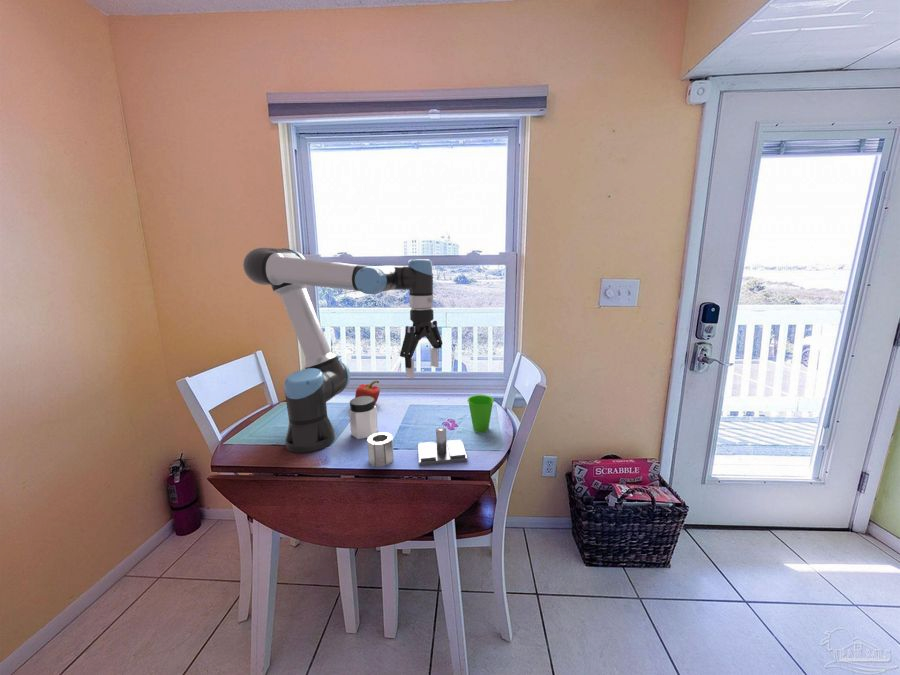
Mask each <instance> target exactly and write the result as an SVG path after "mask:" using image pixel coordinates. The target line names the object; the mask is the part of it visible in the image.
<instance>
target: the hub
mask: <svg viewBox="0 0 900 675" xmlns="http://www.w3.org/2000/svg"><path fill="white" fill-rule="evenodd" d="M393 440H394V438H393V434H391V433H389V432H376V433H375V434H373V435H371V436H369V437H368V438H367V440H366V441H367V450H368V451H367V453H368V463H369V465H370V466H373V467H375V468H376V467H378V468H379V467H386V465H387V466H388V465H390V464H392V463H393V462H394V458H395V457H394V455H395V454H394V443H393V442H394V441H393Z"/></svg>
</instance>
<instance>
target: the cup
mask: <svg viewBox="0 0 900 675" xmlns="http://www.w3.org/2000/svg"><path fill="white" fill-rule="evenodd" d="M494 402H495V400H494V398H493V397H492V396H490V395H487V394H475V395H471V396H469V397H468V398H467V403H468V404H469V411H470V417H471V422H472V428H473V431H474V432H476V433H482V434H483V433H486V432H488V430H489V428H490V423H491V422H490V421H491V417H492V416H491V415H492V411H493V410H492V409H493V403H494Z"/></svg>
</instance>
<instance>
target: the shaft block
mask: <svg viewBox="0 0 900 675" xmlns="http://www.w3.org/2000/svg"><path fill="white" fill-rule="evenodd" d="M435 429H436V430H435V434H436V435H435V436H436V437H435V438H436V441H435V442H434V441H427V442H419V443H418V444H417V452H418V466H419V467H423V466H424V467H425V466H432V465H433V466H434V465H445V464H456V463H465V462H467V463H468V455H467V452H466V449H465V447H464V446H465V445H464V442H463V440H462V439H451V440H447V428H446V427H444V426H440V427H437V428H435Z"/></svg>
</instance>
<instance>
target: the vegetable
mask: <svg viewBox="0 0 900 675" xmlns="http://www.w3.org/2000/svg"><path fill="white" fill-rule="evenodd" d="M379 383H380V380H373V381H372V382H370V383H367V384H363V383H362V384H359V386H358V387H357V389H356V390H355V396H354V398H356V397H361V396H370V397H373V398H374V401H375V405H376V403H377V401H378V399H379V396H380V392H381V391H380V387H379V386H377V385H375V384H379Z"/></svg>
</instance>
